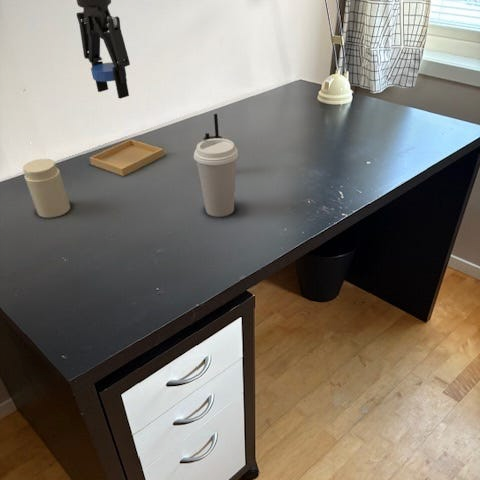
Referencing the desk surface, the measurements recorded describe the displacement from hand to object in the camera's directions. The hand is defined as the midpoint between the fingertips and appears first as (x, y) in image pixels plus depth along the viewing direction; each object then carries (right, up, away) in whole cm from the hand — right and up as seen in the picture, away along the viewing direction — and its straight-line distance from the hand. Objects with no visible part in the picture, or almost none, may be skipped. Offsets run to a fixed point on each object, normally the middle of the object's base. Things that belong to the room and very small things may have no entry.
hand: (113, 93), depth 120 cm
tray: (+1, -13, +12) cm, 18 cm away
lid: (0, +4, -4) cm, 6 cm away
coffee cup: (+27, -32, -10) cm, 43 cm away
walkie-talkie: (+26, -19, +4) cm, 32 cm away
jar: (-12, -31, -7) cm, 34 cm away
